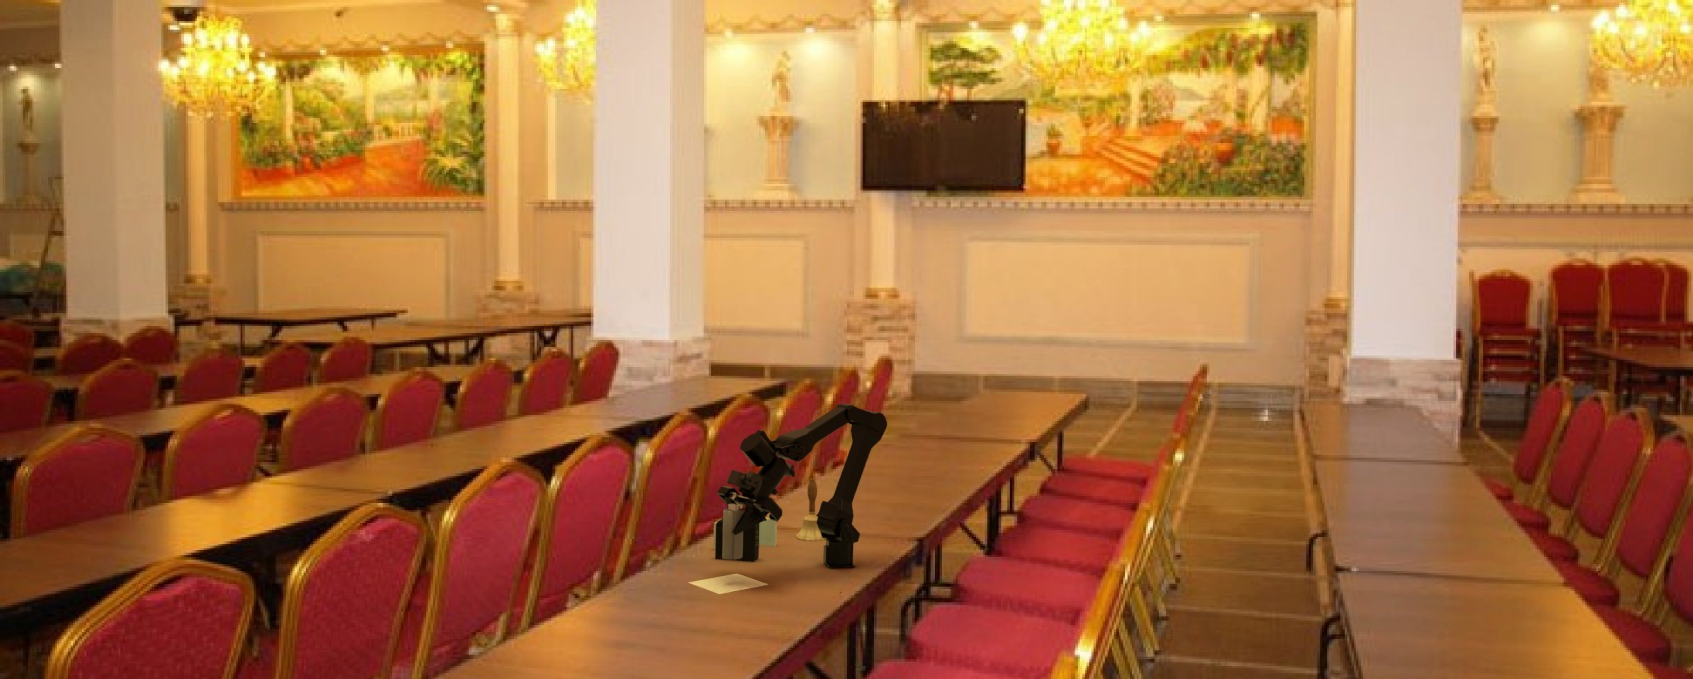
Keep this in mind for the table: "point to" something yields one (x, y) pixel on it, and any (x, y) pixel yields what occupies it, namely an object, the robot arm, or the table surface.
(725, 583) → the mat
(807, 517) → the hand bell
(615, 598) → the table surface
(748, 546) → the electronic device
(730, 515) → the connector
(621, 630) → the table surface
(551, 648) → the table surface
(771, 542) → the l-shaped corner panel
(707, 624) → the table surface
